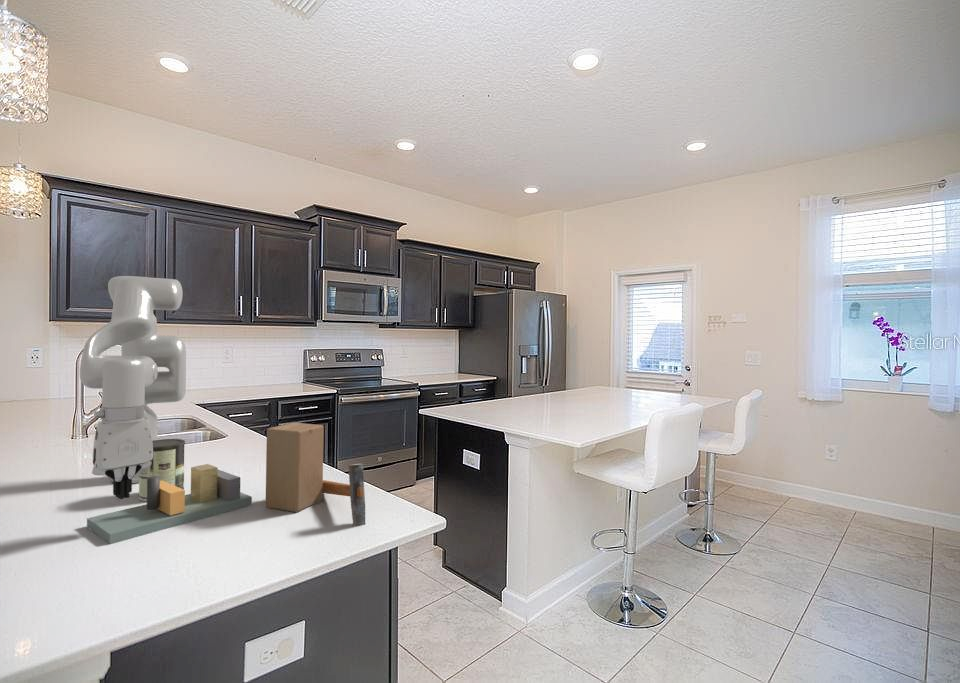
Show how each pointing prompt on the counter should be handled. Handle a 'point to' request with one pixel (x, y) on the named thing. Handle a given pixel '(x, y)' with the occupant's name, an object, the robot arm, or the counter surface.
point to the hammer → (351, 492)
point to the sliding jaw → (164, 496)
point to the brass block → (203, 483)
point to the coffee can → (164, 465)
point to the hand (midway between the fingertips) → (122, 497)
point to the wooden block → (294, 466)
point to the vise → (149, 521)
